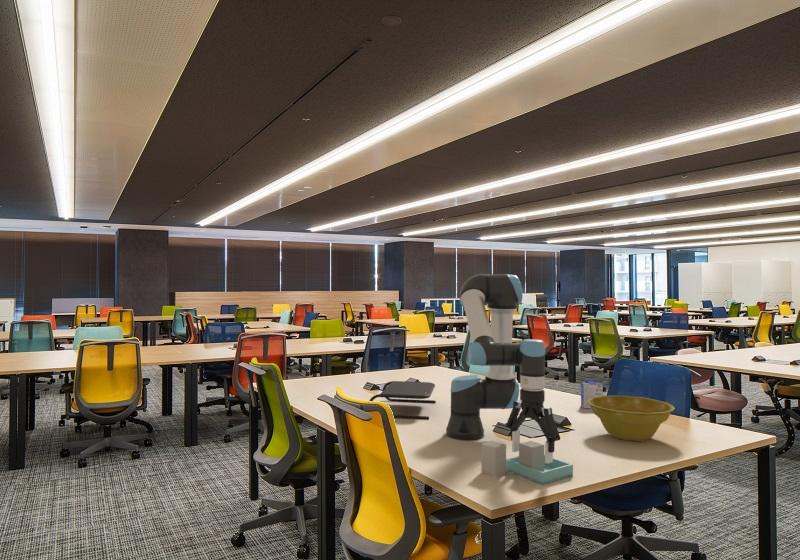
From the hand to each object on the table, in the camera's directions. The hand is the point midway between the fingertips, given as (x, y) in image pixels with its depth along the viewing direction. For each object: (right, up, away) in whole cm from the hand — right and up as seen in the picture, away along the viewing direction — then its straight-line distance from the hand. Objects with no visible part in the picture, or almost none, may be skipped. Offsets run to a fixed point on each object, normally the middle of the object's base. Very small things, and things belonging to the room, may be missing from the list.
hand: (531, 456), depth 168 cm
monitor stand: (-40, -8, +91) cm, 99 cm away
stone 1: (-12, -6, +2) cm, 13 cm away
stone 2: (0, -5, 0) cm, 5 cm away
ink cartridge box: (+55, -9, +100) cm, 115 cm away
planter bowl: (+51, -8, +46) cm, 69 cm away
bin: (+3, -6, +2) cm, 7 cm away
